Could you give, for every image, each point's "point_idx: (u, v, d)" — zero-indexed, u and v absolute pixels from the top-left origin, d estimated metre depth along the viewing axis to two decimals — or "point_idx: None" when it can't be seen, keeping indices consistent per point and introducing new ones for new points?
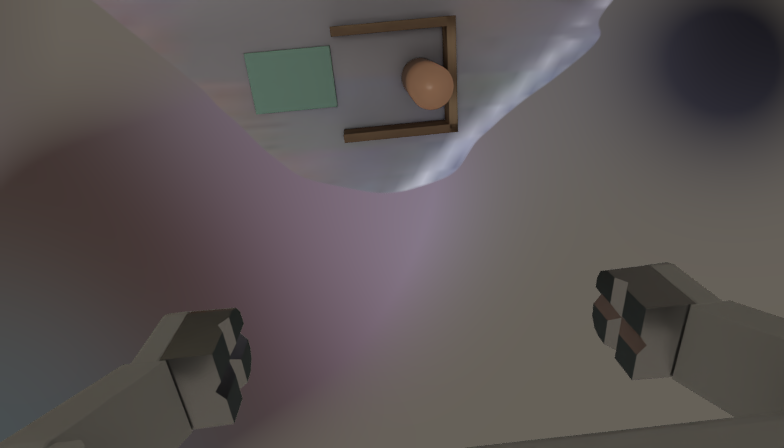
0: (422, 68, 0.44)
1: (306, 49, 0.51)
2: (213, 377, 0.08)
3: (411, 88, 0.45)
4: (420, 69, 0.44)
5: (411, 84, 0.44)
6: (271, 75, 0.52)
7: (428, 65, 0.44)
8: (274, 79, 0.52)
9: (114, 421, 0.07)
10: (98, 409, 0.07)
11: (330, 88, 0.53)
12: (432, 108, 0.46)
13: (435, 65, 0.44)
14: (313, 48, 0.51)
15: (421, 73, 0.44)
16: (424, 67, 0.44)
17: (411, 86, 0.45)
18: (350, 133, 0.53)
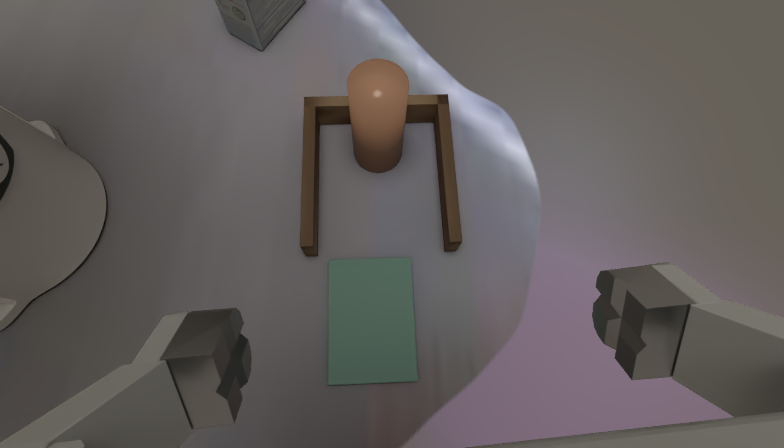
0: (351, 94, 0.31)
1: (330, 291, 0.36)
2: (213, 377, 0.08)
3: (377, 109, 0.31)
4: (352, 97, 0.31)
5: (372, 108, 0.31)
6: (362, 347, 0.35)
7: (348, 87, 0.31)
8: (368, 343, 0.35)
9: (114, 421, 0.07)
10: (98, 409, 0.07)
11: (385, 264, 0.37)
12: (407, 84, 0.32)
13: (349, 79, 0.32)
14: (329, 281, 0.36)
15: (358, 95, 0.31)
16: (350, 92, 0.31)
17: (375, 109, 0.31)
18: (448, 233, 0.36)
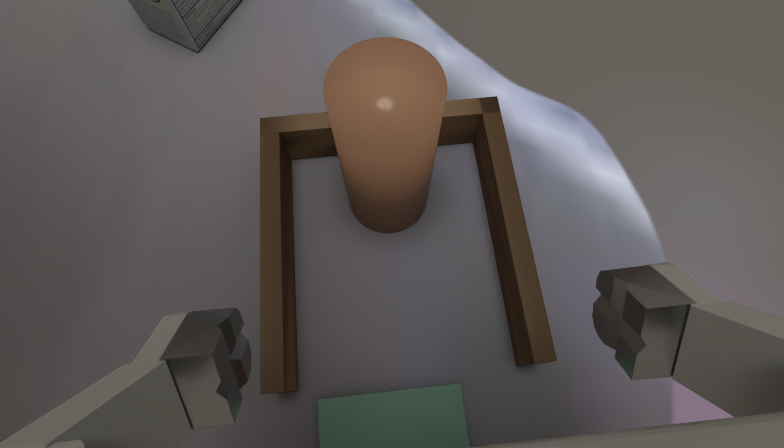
0: (333, 111, 0.16)
1: None
2: (213, 377, 0.08)
3: (388, 136, 0.15)
4: (336, 116, 0.15)
5: (377, 136, 0.15)
6: None
7: (326, 97, 0.16)
8: None
9: (114, 421, 0.07)
10: (98, 410, 0.07)
11: (417, 399, 0.21)
12: (443, 81, 0.16)
13: (327, 80, 0.16)
14: (321, 442, 0.20)
15: (347, 112, 0.15)
16: (331, 106, 0.16)
17: (383, 136, 0.15)
18: (528, 344, 0.20)
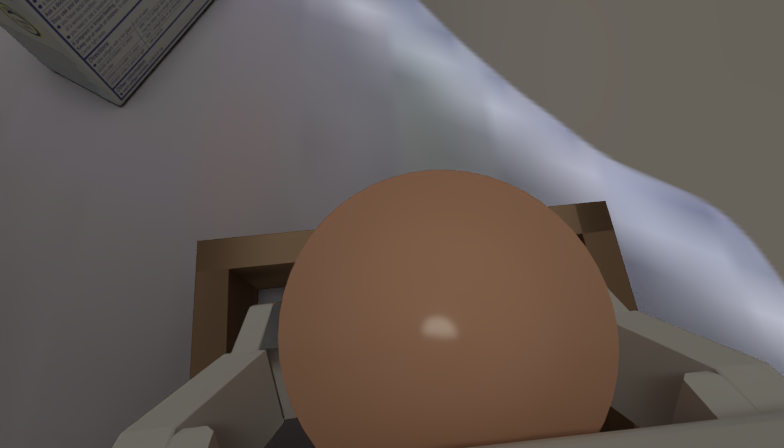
0: (304, 404, 0.05)
1: None
2: None
3: None
4: (311, 421, 0.05)
5: None
6: None
7: (286, 355, 0.06)
8: None
9: (225, 409, 0.07)
10: (213, 397, 0.07)
11: None
12: (605, 310, 0.06)
13: (290, 300, 0.06)
14: None
15: (341, 409, 0.05)
16: (298, 387, 0.06)
17: None
18: None
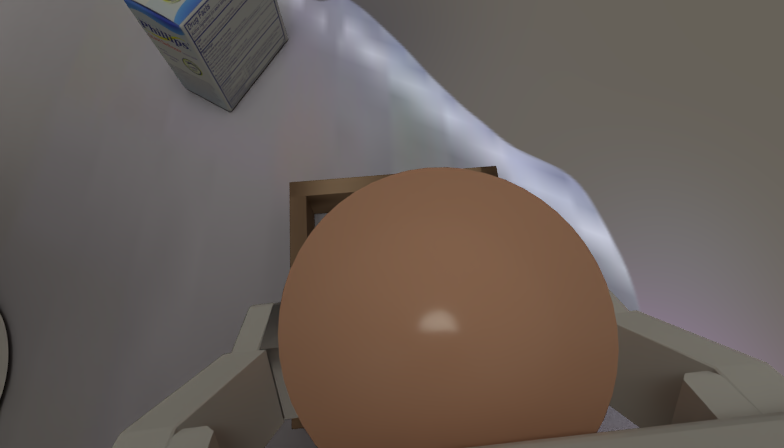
0: (304, 401, 0.05)
1: None
2: None
3: None
4: (310, 418, 0.05)
5: None
6: None
7: (286, 351, 0.06)
8: None
9: (225, 409, 0.07)
10: (214, 397, 0.07)
11: None
12: (604, 307, 0.06)
13: (290, 297, 0.06)
14: None
15: (341, 406, 0.05)
16: (297, 384, 0.06)
17: None
18: None
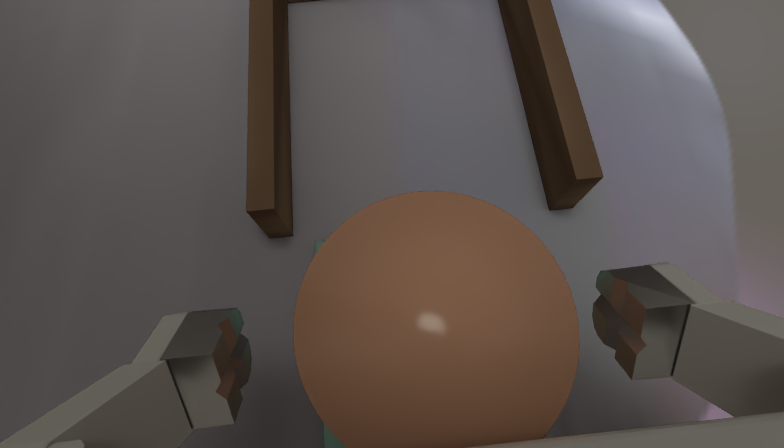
0: (315, 389, 0.07)
1: None
2: (213, 377, 0.08)
3: None
4: (321, 403, 0.07)
5: None
6: None
7: (300, 348, 0.07)
8: None
9: (114, 421, 0.07)
10: (98, 409, 0.07)
11: None
12: (568, 310, 0.07)
13: (302, 302, 0.07)
14: None
15: (346, 393, 0.07)
16: (310, 375, 0.07)
17: None
18: (567, 164, 0.17)
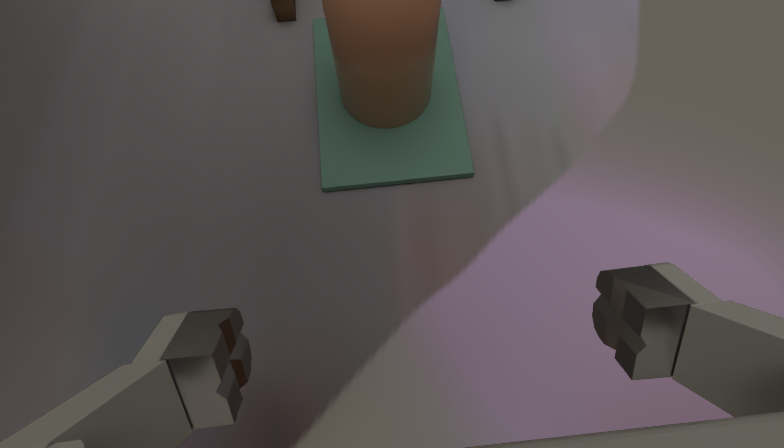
0: None
1: (318, 59, 0.22)
2: (213, 377, 0.08)
3: None
4: None
5: None
6: (375, 131, 0.21)
7: None
8: None
9: (114, 421, 0.07)
10: (98, 409, 0.07)
11: None
12: None
13: None
14: (316, 47, 0.23)
15: None
16: None
17: None
18: None
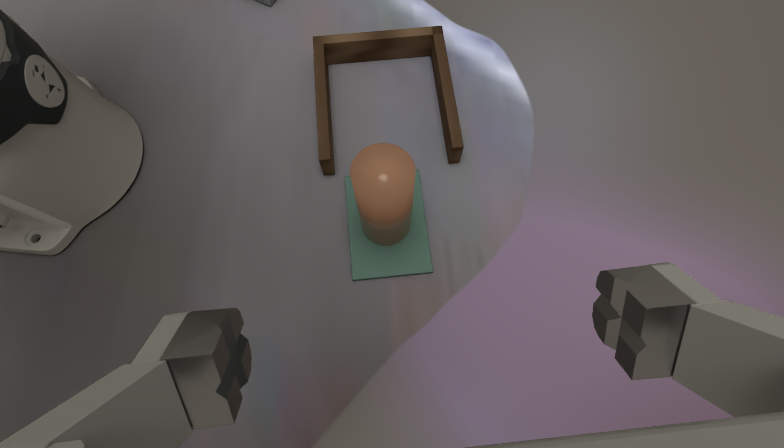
0: (356, 185, 0.30)
1: (348, 202, 0.40)
2: (213, 377, 0.08)
3: (384, 199, 0.29)
4: (357, 188, 0.30)
5: (378, 199, 0.29)
6: (380, 247, 0.39)
7: (352, 177, 0.30)
8: None
9: (114, 421, 0.07)
10: (98, 410, 0.07)
11: None
12: (413, 169, 0.30)
13: (352, 168, 0.30)
14: (347, 194, 0.40)
15: (363, 186, 0.30)
16: (354, 182, 0.30)
17: (381, 199, 0.29)
18: (450, 142, 0.40)
